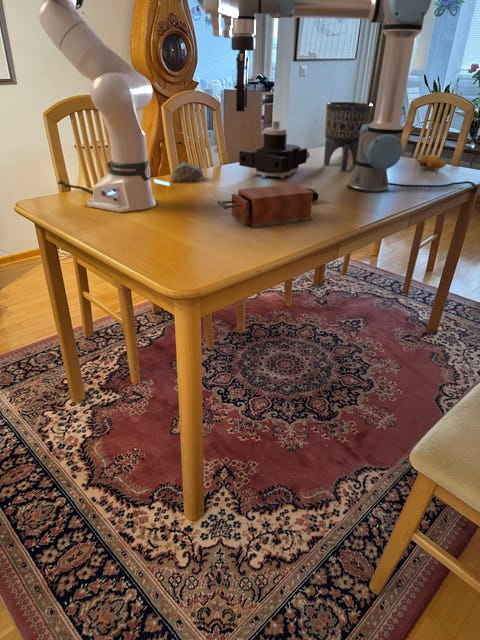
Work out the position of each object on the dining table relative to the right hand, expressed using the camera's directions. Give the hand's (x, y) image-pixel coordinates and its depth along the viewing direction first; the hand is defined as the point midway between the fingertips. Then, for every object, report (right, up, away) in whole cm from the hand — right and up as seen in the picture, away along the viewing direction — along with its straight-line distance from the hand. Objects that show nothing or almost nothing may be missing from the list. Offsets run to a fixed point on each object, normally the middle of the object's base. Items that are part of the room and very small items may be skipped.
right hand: (241, 109), depth 155 cm
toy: (+88, -1, +57) cm, 105 cm away
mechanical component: (+17, -9, +42) cm, 46 cm away
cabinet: (+10, -40, -13) cm, 44 cm away
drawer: (+5, -41, -16) cm, 44 cm away
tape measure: (+23, -31, +4) cm, 39 cm away
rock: (-21, -16, +28) cm, 38 cm away
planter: (+47, -1, +56) cm, 73 cm away
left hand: (-5, +3, -34) cm, 35 cm away
